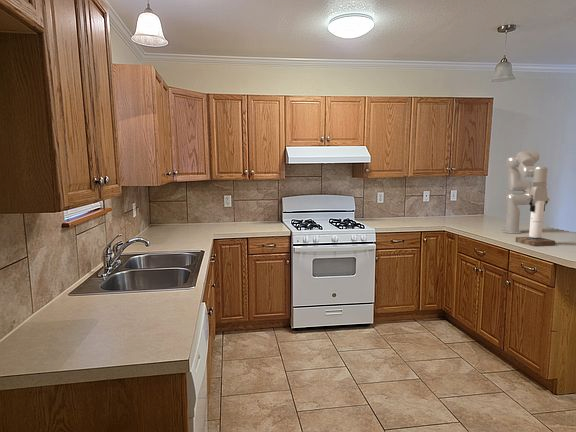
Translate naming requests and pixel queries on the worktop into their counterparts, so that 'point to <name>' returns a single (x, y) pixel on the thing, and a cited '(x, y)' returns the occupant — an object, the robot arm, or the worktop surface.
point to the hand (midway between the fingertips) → (537, 211)
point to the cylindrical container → (537, 220)
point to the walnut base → (535, 241)
